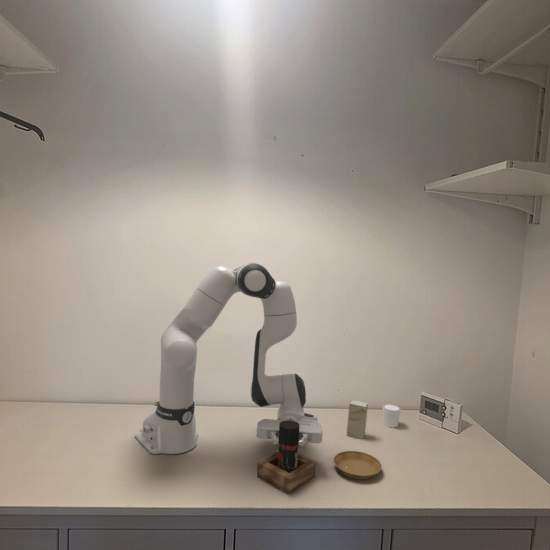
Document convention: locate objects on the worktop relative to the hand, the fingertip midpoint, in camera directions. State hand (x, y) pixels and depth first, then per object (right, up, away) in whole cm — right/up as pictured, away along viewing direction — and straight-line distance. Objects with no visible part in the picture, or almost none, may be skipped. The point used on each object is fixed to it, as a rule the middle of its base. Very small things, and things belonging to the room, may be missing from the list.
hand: (288, 443), depth 126 cm
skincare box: (+26, -10, +32) cm, 42 cm away
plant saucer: (+21, -12, +8) cm, 26 cm away
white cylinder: (+41, -10, +43) cm, 60 cm away
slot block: (-1, -11, +2) cm, 11 cm away
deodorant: (0, -10, +1) cm, 10 cm away
